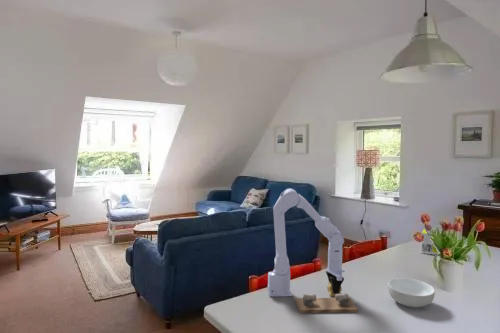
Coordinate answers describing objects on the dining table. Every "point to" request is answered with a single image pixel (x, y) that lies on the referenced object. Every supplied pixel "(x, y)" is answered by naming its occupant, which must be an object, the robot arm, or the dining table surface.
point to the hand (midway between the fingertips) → (334, 291)
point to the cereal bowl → (411, 292)
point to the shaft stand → (325, 304)
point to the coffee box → (427, 245)
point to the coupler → (330, 290)
